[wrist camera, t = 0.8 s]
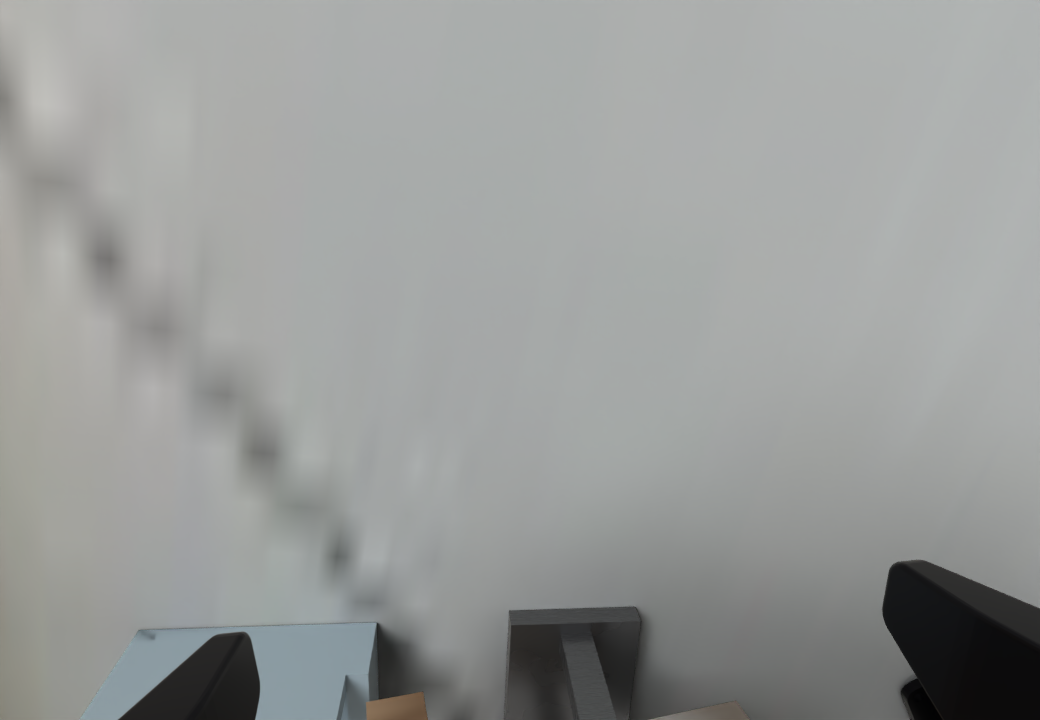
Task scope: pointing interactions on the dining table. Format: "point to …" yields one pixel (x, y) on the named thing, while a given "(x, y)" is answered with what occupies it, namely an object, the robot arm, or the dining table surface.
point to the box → (260, 669)
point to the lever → (408, 716)
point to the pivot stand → (571, 663)
